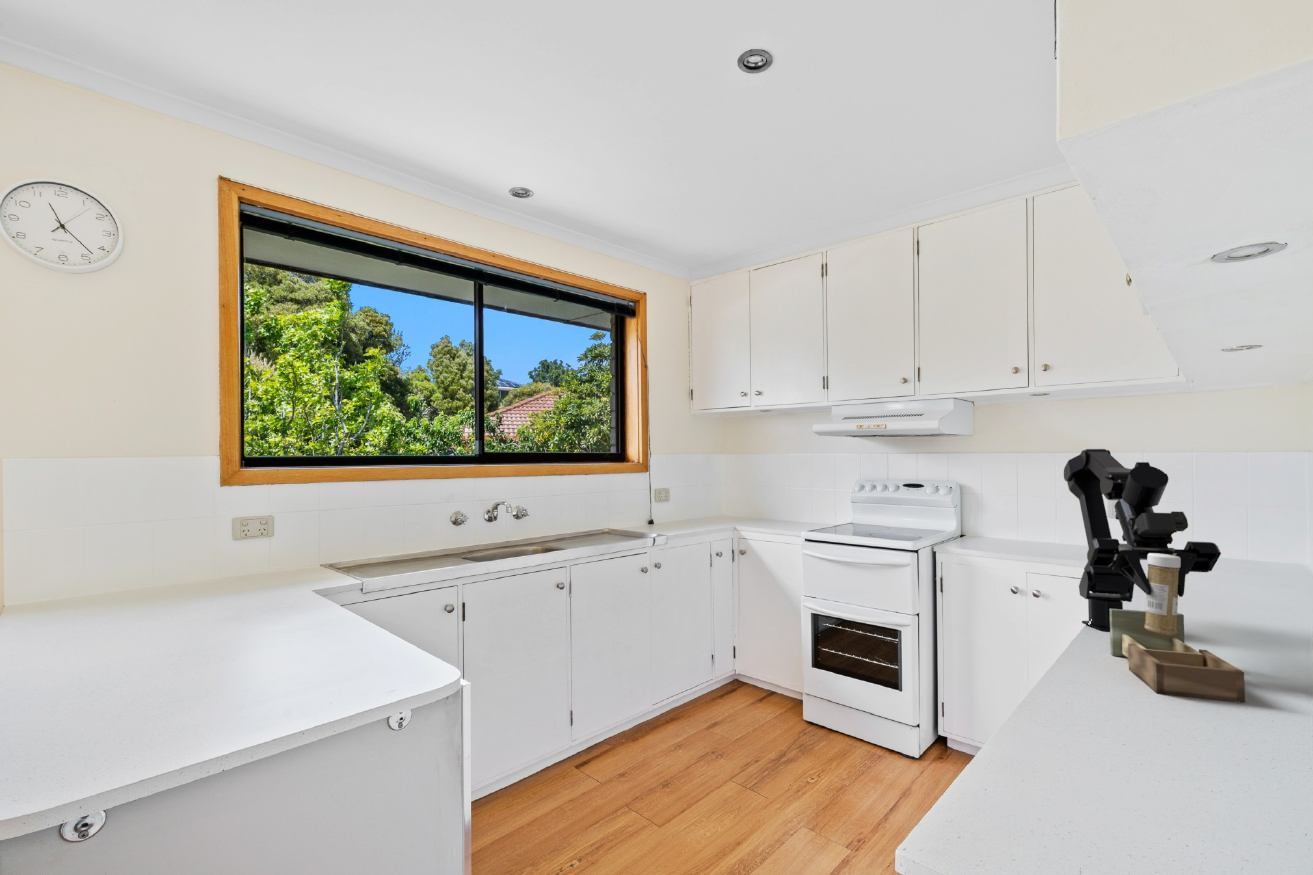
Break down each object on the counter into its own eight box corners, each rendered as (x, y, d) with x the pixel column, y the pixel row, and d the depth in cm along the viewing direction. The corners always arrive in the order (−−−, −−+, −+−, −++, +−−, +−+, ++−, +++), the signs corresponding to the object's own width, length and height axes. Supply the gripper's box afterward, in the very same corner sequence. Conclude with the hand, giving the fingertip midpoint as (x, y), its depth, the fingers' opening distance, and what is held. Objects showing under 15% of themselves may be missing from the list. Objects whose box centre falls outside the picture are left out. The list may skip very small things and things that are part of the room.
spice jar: (1183, 636, 109) (1188, 557, 109) (1158, 634, 108) (1163, 556, 108) (1160, 628, 113) (1164, 552, 113) (1136, 627, 113) (1140, 551, 113)
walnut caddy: (1128, 669, 110) (1128, 643, 110) (1206, 676, 107) (1206, 649, 107) (1156, 693, 99) (1156, 664, 99) (1245, 702, 95) (1244, 672, 95)
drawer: (1110, 653, 119) (1109, 608, 119) (1182, 659, 115) (1180, 613, 116) (1134, 673, 108) (1133, 623, 108) (1214, 681, 104) (1212, 629, 104)
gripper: (1090, 494, 118) (1112, 563, 107) (1214, 496, 112) (1250, 570, 101) (1078, 532, 125) (1098, 600, 115) (1194, 535, 119) (1226, 608, 108)
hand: (1165, 594), depth 109 cm, fingers closed on spice jar, 4 cm apart
